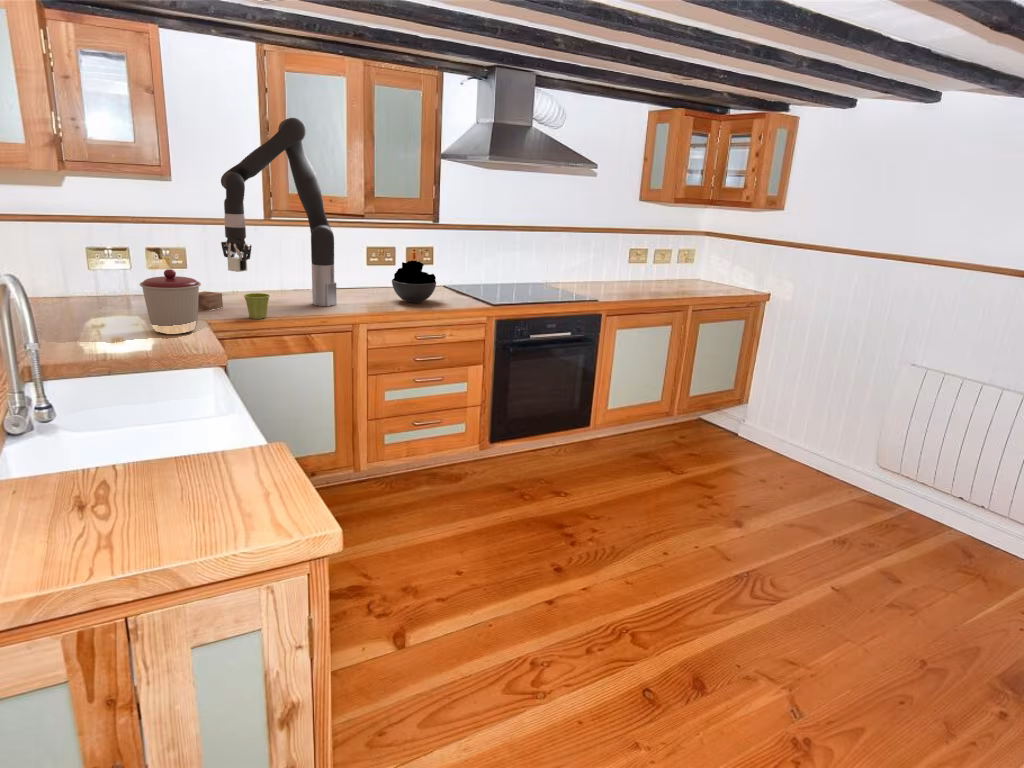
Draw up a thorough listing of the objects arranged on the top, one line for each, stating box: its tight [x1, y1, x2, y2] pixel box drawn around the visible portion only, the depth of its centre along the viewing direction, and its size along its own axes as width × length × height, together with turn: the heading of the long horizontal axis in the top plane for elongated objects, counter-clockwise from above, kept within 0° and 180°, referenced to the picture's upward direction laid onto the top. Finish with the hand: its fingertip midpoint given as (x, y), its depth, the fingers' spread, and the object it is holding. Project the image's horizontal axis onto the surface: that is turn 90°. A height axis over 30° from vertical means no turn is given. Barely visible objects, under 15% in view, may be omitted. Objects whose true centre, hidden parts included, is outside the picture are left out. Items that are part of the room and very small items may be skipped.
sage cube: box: [226, 256, 248, 273], centre depth 258 cm, size 5×5×5 cm
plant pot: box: [242, 292, 271, 320], centre depth 247 cm, size 9×9×9 cm
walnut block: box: [198, 290, 224, 311], centre depth 257 cm, size 8×8×6 cm
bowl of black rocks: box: [391, 260, 437, 304], centre depth 296 cm, size 20×20×19 cm
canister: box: [139, 268, 202, 326], centre depth 218 cm, size 18×18×21 cm
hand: (237, 269), depth 259 cm, fingers closed on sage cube, 5 cm apart
